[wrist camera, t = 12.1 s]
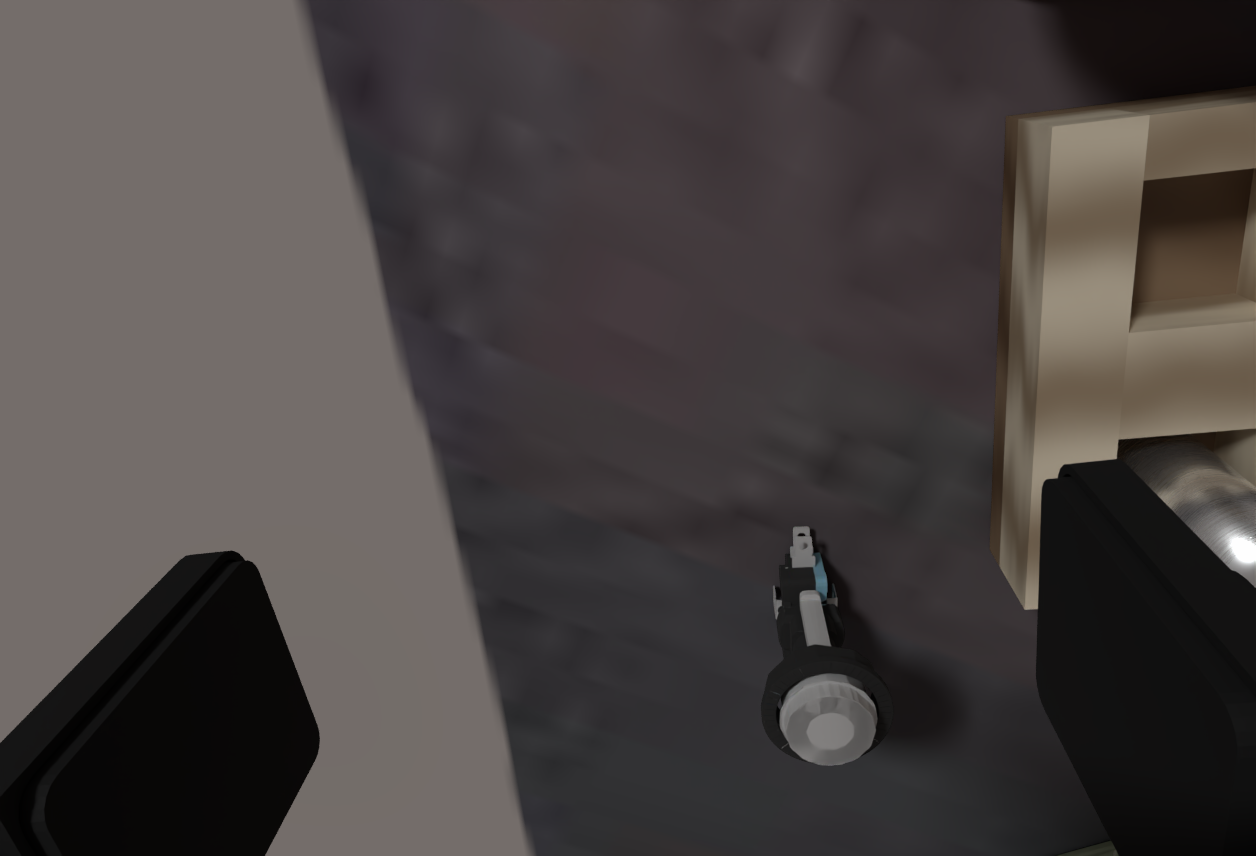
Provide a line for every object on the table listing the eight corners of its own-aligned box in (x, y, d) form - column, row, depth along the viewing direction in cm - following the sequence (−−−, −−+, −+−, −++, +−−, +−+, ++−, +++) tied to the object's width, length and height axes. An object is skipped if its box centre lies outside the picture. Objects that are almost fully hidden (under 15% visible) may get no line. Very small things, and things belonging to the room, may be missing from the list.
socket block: (1005, 116, 35) (1052, 126, 31) (1332, 76, 34) (1431, 80, 29) (989, 549, 43) (1024, 609, 38) (1254, 531, 42) (1324, 591, 37)
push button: (746, 523, 43) (760, 651, 34) (857, 518, 43) (901, 647, 34) (751, 636, 46) (765, 783, 37) (856, 632, 45) (897, 781, 36)
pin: (1100, 422, 38) (1221, 541, 29) (1198, 413, 38) (1354, 532, 29) (1093, 503, 40) (1207, 640, 31) (1188, 496, 39) (1333, 633, 30)
